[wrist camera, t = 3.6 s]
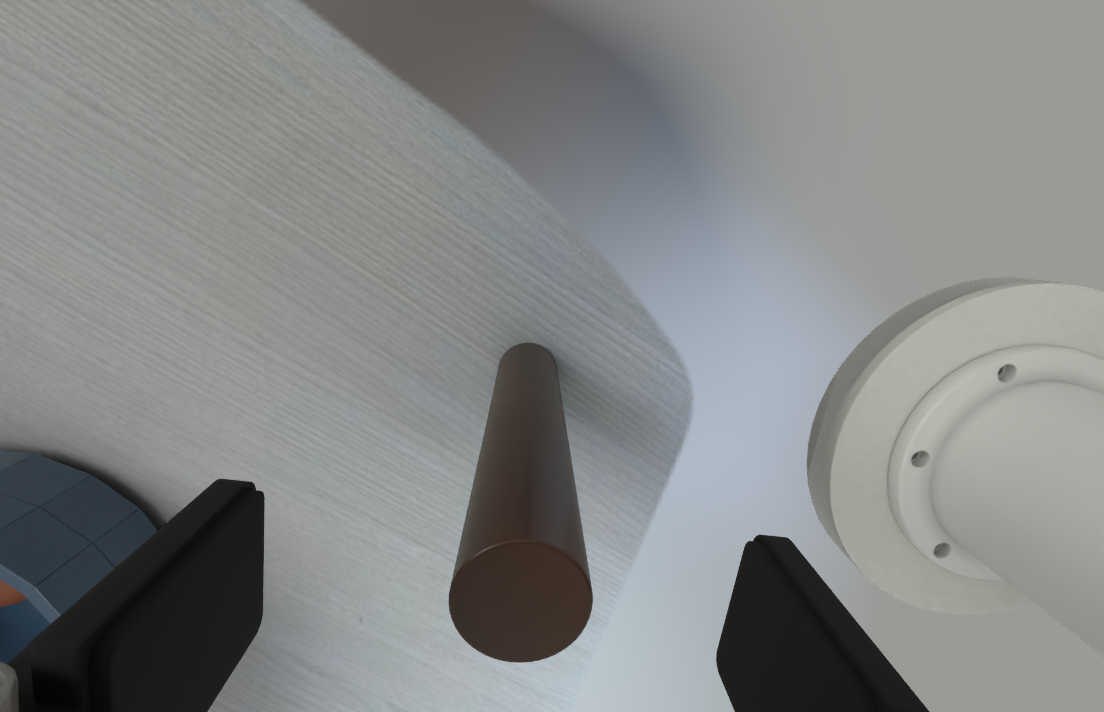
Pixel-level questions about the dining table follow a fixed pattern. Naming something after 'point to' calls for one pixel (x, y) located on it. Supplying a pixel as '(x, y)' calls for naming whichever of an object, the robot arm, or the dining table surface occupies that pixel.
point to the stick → (523, 523)
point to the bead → (9, 595)
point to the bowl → (57, 540)
